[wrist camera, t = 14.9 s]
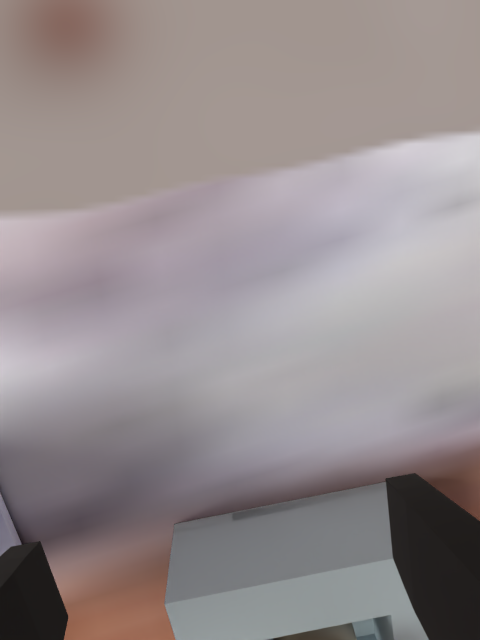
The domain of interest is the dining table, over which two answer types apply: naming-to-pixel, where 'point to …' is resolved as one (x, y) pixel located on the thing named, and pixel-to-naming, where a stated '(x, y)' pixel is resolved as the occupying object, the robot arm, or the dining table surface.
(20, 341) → the dining table surface
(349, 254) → the dining table surface
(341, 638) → the tan wooden peg
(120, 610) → the dining table surface
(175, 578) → the socket block
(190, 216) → the dining table surface
